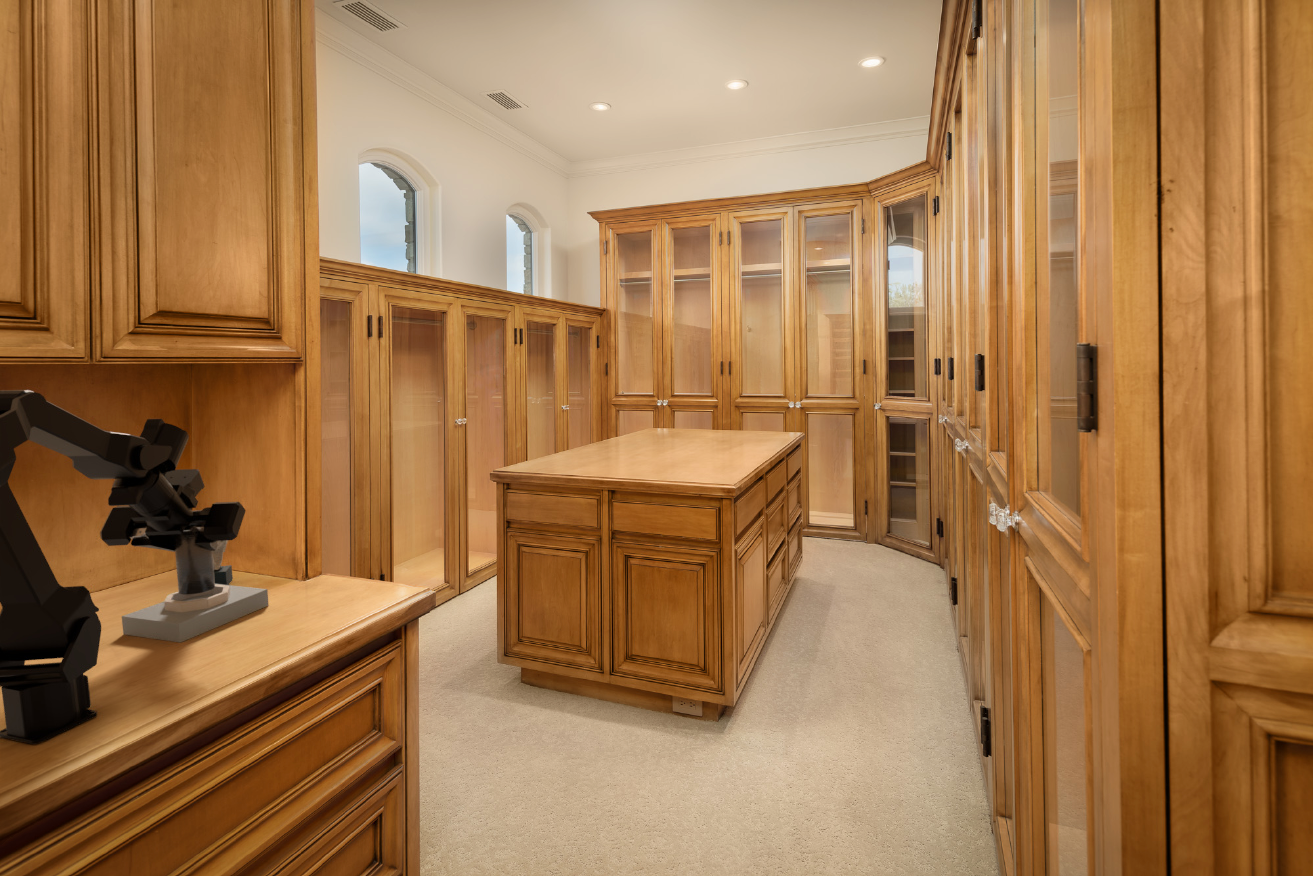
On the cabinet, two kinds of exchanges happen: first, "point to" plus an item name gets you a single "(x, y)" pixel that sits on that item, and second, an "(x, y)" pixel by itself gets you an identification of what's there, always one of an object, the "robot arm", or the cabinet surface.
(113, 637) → the cabinet surface
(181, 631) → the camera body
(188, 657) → the cabinet surface
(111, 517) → the robot arm
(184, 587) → the lens
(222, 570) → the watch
